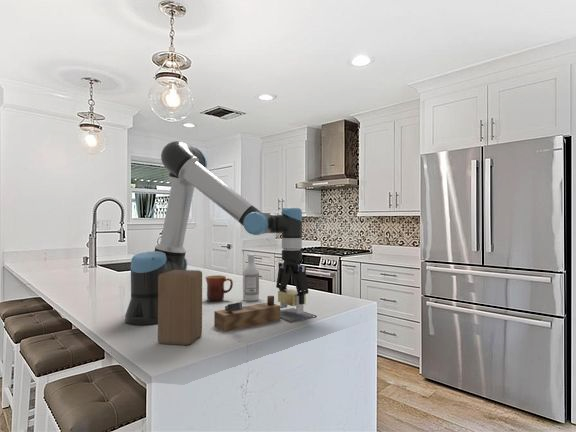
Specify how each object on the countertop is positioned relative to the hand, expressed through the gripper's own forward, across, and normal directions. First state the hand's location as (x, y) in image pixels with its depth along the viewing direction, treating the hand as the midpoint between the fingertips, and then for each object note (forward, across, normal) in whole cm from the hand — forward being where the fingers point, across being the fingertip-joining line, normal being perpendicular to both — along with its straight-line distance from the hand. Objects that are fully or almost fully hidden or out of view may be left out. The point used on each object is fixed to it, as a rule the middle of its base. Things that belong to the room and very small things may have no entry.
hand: (291, 310), depth 137 cm
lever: (-4, +1, +26) cm, 26 cm away
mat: (+2, 0, 0) cm, 2 cm away
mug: (+2, +39, +10) cm, 40 cm away
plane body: (+2, +1, +18) cm, 18 cm away
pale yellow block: (-3, 0, 0) cm, 3 cm away
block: (+2, -2, +43) cm, 43 cm away
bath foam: (+2, +32, -2) cm, 32 cm away
